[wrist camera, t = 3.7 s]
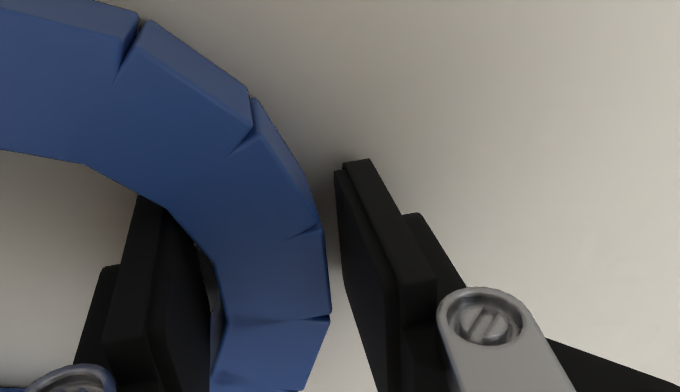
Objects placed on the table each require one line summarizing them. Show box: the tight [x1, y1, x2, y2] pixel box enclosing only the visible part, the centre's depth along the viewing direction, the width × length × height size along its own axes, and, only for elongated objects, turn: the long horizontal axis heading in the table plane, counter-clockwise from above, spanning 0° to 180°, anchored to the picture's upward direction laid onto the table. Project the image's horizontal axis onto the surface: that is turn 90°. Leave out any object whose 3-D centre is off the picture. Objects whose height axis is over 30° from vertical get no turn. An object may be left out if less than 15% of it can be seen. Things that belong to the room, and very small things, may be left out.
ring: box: [0, 0, 332, 392], centre depth 10 cm, size 11×11×2 cm
